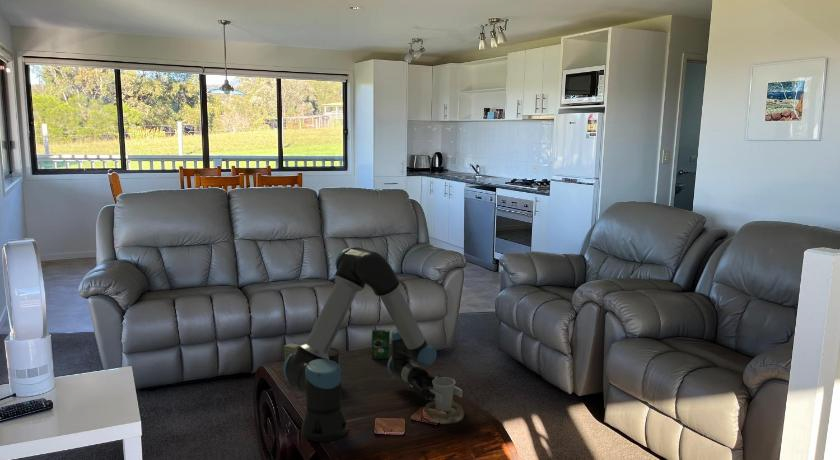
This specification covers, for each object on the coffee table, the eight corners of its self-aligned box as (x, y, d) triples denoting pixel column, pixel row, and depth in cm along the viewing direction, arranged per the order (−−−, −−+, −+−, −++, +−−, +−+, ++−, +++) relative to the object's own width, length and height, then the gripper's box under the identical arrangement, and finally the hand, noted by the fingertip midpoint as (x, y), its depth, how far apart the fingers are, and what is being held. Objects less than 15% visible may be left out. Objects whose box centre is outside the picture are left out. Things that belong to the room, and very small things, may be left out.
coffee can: (334, 391, 235) (334, 357, 233) (310, 389, 237) (309, 354, 235) (343, 381, 244) (343, 348, 243) (320, 379, 247) (319, 346, 245)
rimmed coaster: (438, 427, 205) (438, 421, 205) (414, 411, 217) (414, 405, 217) (472, 416, 213) (472, 410, 213) (447, 402, 226) (447, 395, 225)
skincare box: (302, 372, 254) (302, 345, 252) (295, 376, 250) (294, 347, 248) (291, 369, 257) (290, 342, 255) (284, 373, 254) (283, 345, 252)
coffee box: (390, 357, 273) (390, 329, 272) (389, 359, 271) (389, 331, 269) (372, 356, 274) (372, 328, 272) (371, 358, 271) (371, 330, 269)
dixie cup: (453, 414, 210) (453, 386, 209) (429, 411, 212) (430, 384, 210) (456, 404, 218) (457, 377, 217) (433, 402, 220) (434, 375, 219)
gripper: (437, 379, 235) (474, 399, 217) (392, 391, 223) (427, 414, 205) (437, 361, 234) (474, 380, 216) (392, 372, 222) (427, 393, 204)
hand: (451, 396), depth 210 cm, fingers closed on dixie cup, 8 cm apart
